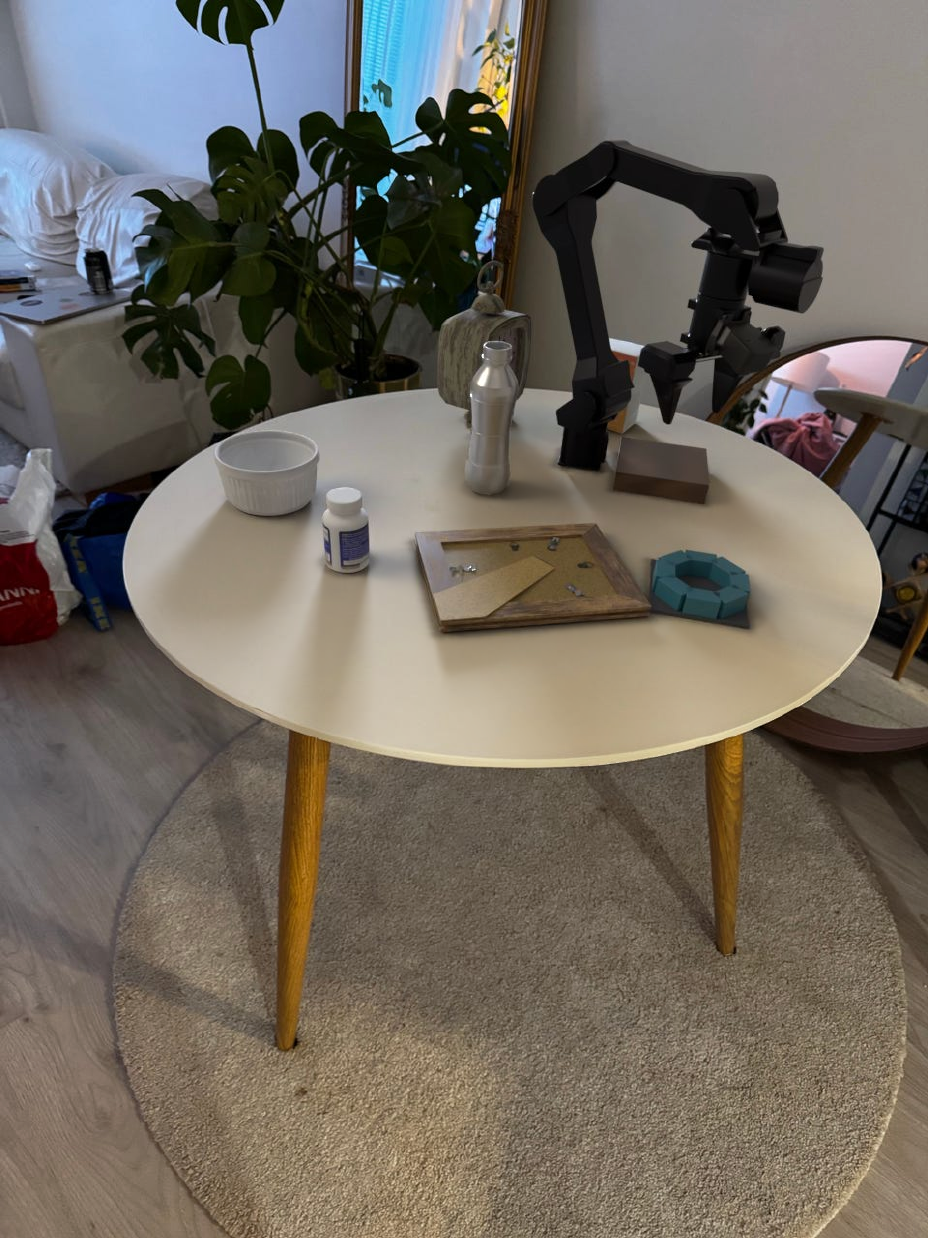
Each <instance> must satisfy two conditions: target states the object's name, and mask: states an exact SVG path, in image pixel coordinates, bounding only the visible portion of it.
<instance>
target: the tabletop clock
mask: <svg viewBox="0 0 928 1238" xmlns="http://www.w3.org/2000/svg"><path fill="white" fill-rule="evenodd" d="M492 267H498V269H499V273H500V275H499V278H498V280H497V282H495V284H494V282H493V281H490V280H489V281H487V282H486V287H483V286H482V285H481V282H482V281H481V280H482V277H483V275H484V273H485V272H486V271H487V270H488V269H489V268H492ZM503 278H504V267H503V265H502V263H501V262H499V261H498V260H492V261H489V262H487V263H485V264H484V265H483V266H482V267H481V268H480V271H479V273H478V276H477V288H478V290H479V292H482V293H481V294H479V295H478V296H477V297H476V298H475V299H474V300H473V302H472V304H471V308H469V309H465V310H464V311H462V312H460V313H457V314H455V315H453V316H451V317H449V318H447V319H446V320H445V321H444V322H443V323H442V324H441V327H440V331H439V335H438V348H437V360H436V361H437V364H436V365H437V366H436V367H437V370H436V371H437V373H436V374H437V376H436V377H437V378H436V379H437V380H436V381H437V392H438V396H439V397H440V399H442V401H443V402H444V403H445V404H446V405H450V406H453V407H456V408H460V409H463V410H466V411H465V412H464V414H463V418H464V420H466V421H468V422H470V421H472V407H471V393H470V385H471V382H472V379H473V377H474V375H475V374H476V372H477V371H478V370H479V369H480V367H481V366H482V365H483V364H484V361H483V360H482V355H483V348H484V344H485V343H487V342H491V341H500V342H505V343H508V344H510V345H511V346H512V353H511V356H512V361H511V362H510V363H509V366H510V367H511V369H512V371H513V372H514V374H515V376H516V378H517V381H518V385H519V391H518V396H517V400H516V402H517V401H518V400H519V399H520V398H521V397H522V395H523V394H524V390H525V387H526V382H527V377H528V372H529V365H530V357H531V344H532V317H531V316H530V315H528V314H524V313H520V312H516V311H512V310H507V309H506V305H505V302H504V300H503V299H502V298H501V296H500V295H497V294H495V293H494V291H496V290H497V289H498V288H499V287H500V286H501V283H502V281H503ZM514 415H515V412H514V413H513V416H514ZM471 435H472V428H471V429H470V436H471Z"/></svg>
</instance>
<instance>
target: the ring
mask: <svg viewBox="0 0 928 1238" xmlns="http://www.w3.org/2000/svg"><path fill="white" fill-rule="evenodd" d="M655 560H656V564H655V568H654V572H653V583H652V591H654V592H655V593H654V595H656V596H657V597H658V598H660V599H661V600H662V601H664V602H665V603H667V604H668V605H669V606H671V607H672V608H673V609H675V610H676V611H679V610H681V609H682V613H684V614H689V615H695V616H701V617H707V618H713V619H716V618H717V616H718V617H720V618H721V619H722V618H724V617H727V616H729V615H732V614H734V613H737V612H739V611H742V610H744V607H746V604H748V601H749V598H750V597H751V596H750V595H751V592H752V589H751V584H750V577H749V576H750V575H749V574H748V573H746V570H745V569H743V568H742V567H740V566H738V565H737V564H735V563H733V562H732V561H730V560H729V559H727V558H726V557H724V556H719V557H718V554H715V553H710V552H703V551H697V550H693V549H685V551H684V550H682V549H679V550H677V551H674V552H670V553H668V554H665V555H661V556H659V557H658V559H655ZM686 574H687V575H693V576H699V577H705V578H709V579H711V580H712V581H714V582H715V583H717V584H718V585H720V586H721V587H723V589H721V590H718V591H716V592H714V591H708V590H702V589H696V588H691V587H690V586H688V585H687V584H686V583H684V582H683V581H681V580H680V579H678V577H681V576H684V575H686Z"/></svg>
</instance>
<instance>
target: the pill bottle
mask: <svg viewBox="0 0 928 1238" xmlns="http://www.w3.org/2000/svg"><path fill="white" fill-rule="evenodd" d="M362 494H363V493H362V492H361V491H359V490H358V489H356V488H354V487H346V486H345V487H337V488H333V489H331V490H329V491H328V492H327V493H326V495H325V500H326V501H325V503H326V508H327V509H326V510H325V511H324V512H323V514H322V515H321V516H322V517H321V521H322V536H323V548H324V549H323V552H324V561H325V564H326V566H327V567H328V569H331V570H332V571H334V572H337V573H342V574H352V573H356V572H360V571H363V569H365V568H366V567H368V565H369V564H370V561H371V556H370V555H371V554H370V550H371V549H370V524H369V522H370V521H369V514H368V512H367V511H366V509H365V508H363V495H362Z"/></svg>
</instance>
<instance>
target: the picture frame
mask: <svg viewBox="0 0 928 1238" xmlns="http://www.w3.org/2000/svg"><path fill="white" fill-rule="evenodd" d="M414 546H415V549H416V552H417V556H418V559H419V562H420V566H421V570H422V573H423V578H424V580H425V583H426V584H425V585H426V587H427V591H428V594H429V598H430V602H431V606H432V608H433V612H434V615H435V620H436V624H437V627H438V631H439V632H440V633H445V632H458V631H459V632H460V631H472V630H484V629H498V628H511V627H523V626H535V625H537V626H538V625H550V624H560V623H563V624H564V623H573V622H574V623H575V622H586V621H601V620H613V619H625V618H639V617H649V616H650V613H651V612H649V610H651V604H650V603H649V599H648V598H647V597H646V596H645V594H644V592H643V591H642V590H641V588H640V586H639V585H638V583H637V582H636V581H635V579H634V578H633V576H632V575H631V573H630V571H629V569H628V568H627V567H626V566H625V564H624V562H623V560H622V559H621V558H620V557H619V555H618V554H617V552H616V551H615V549H614V548H613V546H612V545H611V544H610V541H609V540H608V539H607V537H606V536H605V534H604V533H603V531H602V530H601V528H600V527H599V525H598V524H597V522H590V523H589V522H588V523H571V524H570V523H565V524H550V525H549V524H547V525H530V526H510V527H491V528H471V529H453V530H451V529H450V530H433V531H416V532H414Z"/></svg>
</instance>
